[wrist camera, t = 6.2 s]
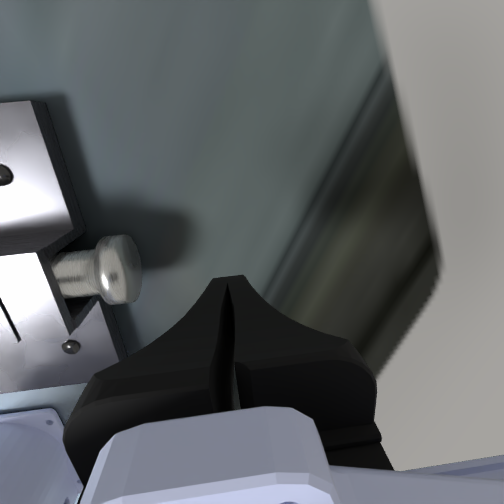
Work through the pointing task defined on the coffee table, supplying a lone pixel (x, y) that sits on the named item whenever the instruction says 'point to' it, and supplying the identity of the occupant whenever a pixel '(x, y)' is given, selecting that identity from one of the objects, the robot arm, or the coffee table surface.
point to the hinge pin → (101, 271)
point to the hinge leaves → (43, 264)
